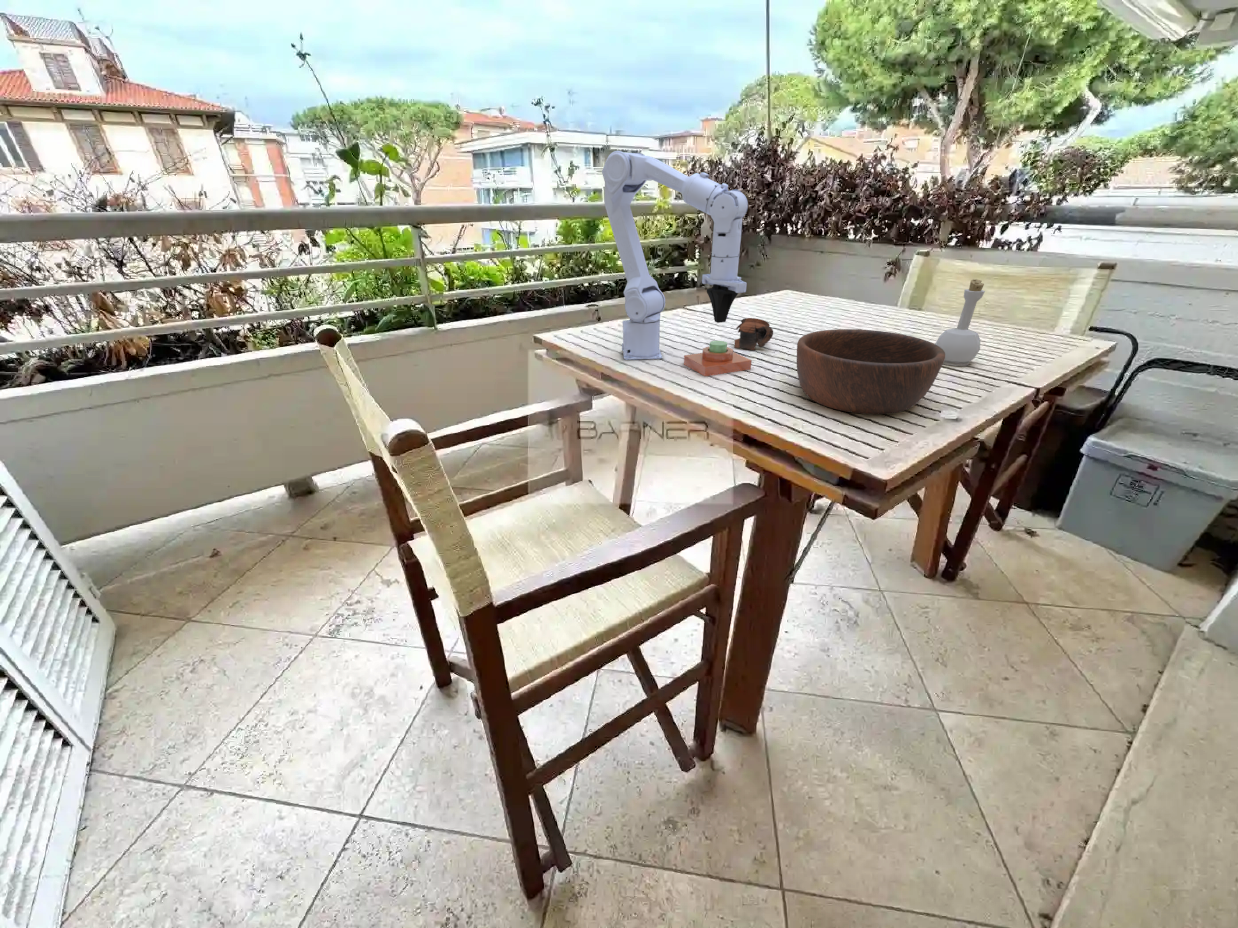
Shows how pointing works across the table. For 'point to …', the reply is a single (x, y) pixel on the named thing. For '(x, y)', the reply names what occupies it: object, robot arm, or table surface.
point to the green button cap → (718, 346)
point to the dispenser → (717, 362)
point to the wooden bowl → (867, 369)
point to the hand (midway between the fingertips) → (720, 321)
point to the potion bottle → (963, 331)
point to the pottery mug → (753, 333)
